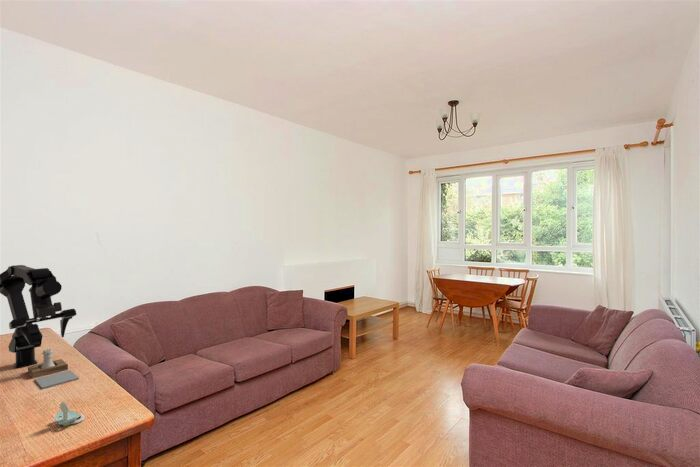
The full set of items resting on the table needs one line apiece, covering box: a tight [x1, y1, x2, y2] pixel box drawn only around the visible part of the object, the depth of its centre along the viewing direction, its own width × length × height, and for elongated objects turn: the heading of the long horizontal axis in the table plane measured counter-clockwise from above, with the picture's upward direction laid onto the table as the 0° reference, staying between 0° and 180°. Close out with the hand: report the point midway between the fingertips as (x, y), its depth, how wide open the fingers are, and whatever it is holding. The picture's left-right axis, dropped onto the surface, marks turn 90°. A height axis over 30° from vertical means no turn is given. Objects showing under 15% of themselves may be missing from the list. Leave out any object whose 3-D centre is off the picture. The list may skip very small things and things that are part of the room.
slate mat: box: [34, 369, 80, 390], centre depth 124 cm, size 12×10×1 cm
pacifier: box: [54, 400, 86, 427], centre depth 95 cm, size 7×6×6 cm
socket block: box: [27, 358, 69, 379], centre depth 132 cm, size 10×10×2 cm
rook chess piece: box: [41, 348, 55, 369], centre depth 133 cm, size 4×4×8 cm
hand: (47, 340), depth 131 cm, fingers open, 9 cm apart
